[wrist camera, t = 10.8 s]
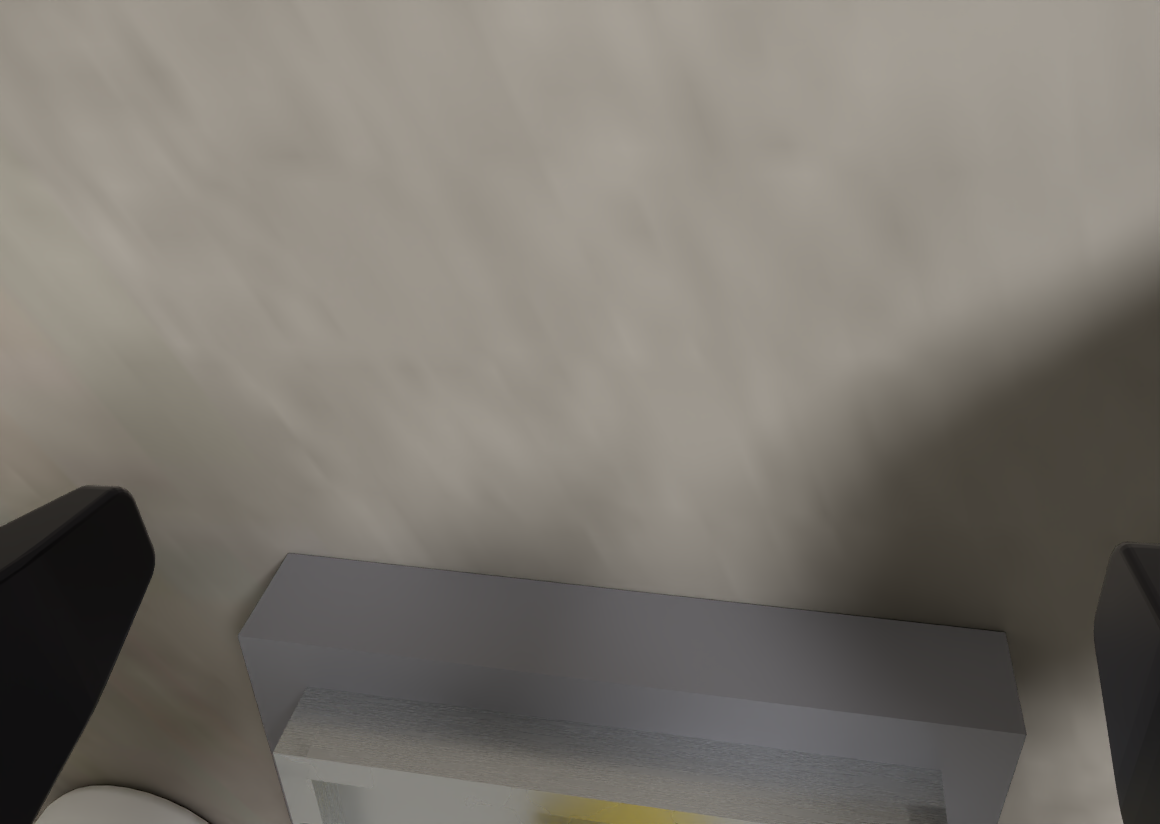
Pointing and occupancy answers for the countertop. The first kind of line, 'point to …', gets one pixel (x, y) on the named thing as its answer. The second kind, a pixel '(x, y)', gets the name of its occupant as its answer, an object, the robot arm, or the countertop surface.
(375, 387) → the countertop surface
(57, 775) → the robot arm
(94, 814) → the milk bottle
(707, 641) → the base
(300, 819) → the scale pan
